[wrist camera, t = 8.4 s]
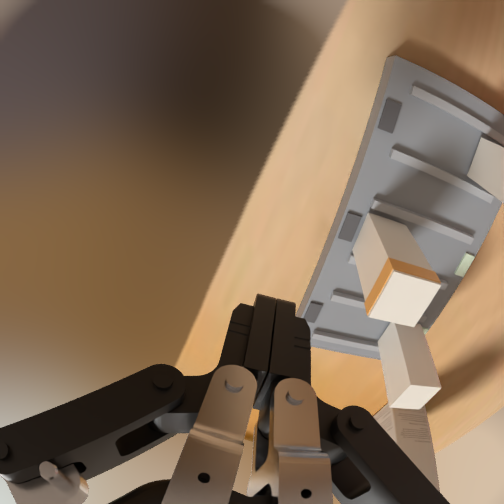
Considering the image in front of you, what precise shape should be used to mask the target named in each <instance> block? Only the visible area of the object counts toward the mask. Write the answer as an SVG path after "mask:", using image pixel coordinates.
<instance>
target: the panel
mask: <svg viewBox="0 0 504 504" xmlns="http://www.w3.org/2000/svg"><path fill="white" fill-rule="evenodd" d="M481 137H482V138H484V139H486V140H488V141H491V142H493V143H495V144H497V145H499V146H502V147H504V115H503V114H502V113H500V112H499V111H497V110H496V109H494V108H493V107H491V106H490V105H488V104H487V103H485V102H484V101H482V100H480V99H479V98H477V97H476V96H474V95H472V94H471V93H469V92H467V91H466V90H464V89H462V88H460V87H459V86H457V85H455V84H453V83H452V82H450V81H448V80H446V79H444V78H442V77H440V76H438V75H436V74H435V73H433V72H431V71H429V70H427V69H424V68H422V67H420V66H418V65H416V64H414V63H412V62H410V61H407V60H405V59H403V58H401V57H398V56H396V55H395V56H391V57H387V59H386V63H385V66H384V70H383V73H382V77H381V80H380V84H379V87H378V91H377V94H376V98H375V101H374V104H373V108H372V111H371V114H370V117H369V120H368V124H367V127H366V130H365V133H364V136H363V139H362V142H361V145H360V148H359V151H358V154H357V157H356V160H355V163H354V166H353V169H352V172H351V175H350V178H349V181H348V184H347V186H346V189H345V192H344V195H343V198H342V200H341V203H340V206H339V209H338V211H337V214H336V217H335V219H334V222H333V225H332V227H331V230H330V233H329V235H328V238H327V240H326V243H325V245H324V248H323V251H322V253H321V256H320V258H319V261H318V263H317V266H316V268H315V271H314V273H313V276H312V278H311V280H310V283H309V285H308V288H307V290H306V292H305V295H304V297H303V300H302V302H301V304H300V307H299V309H298V311H297V314H296V316H295V317H299V318H304V319H306V321H307V323H308V325H309V327H310V330H311V340H310V342H311V346H312V347H316V348H321V349H326V350H331V351H336V352H341V353H346V354H351V355H357V356H362V357H367V358H373V359H379V360H381V357H380V352H379V347H378V340H379V339H380V337H381V336H382V335H383V333H384V332H385V330H386V329H387V327H388V325H389V324H390V322H388V321H383V320H379V319H374V318H370V317H368V315H367V314H366V309H365V305H364V303H365V299H364V295H363V290H362V286H361V282H360V278H359V274H358V270H357V266H356V262H355V258H354V254H353V251H352V249H353V247H354V245H355V242H356V240H357V238H358V235H359V233H360V230H361V228H362V226H363V223H364V221H365V218H366V216H367V214H368V212H369V213H372V214H375V215H378V216H381V217H384V218H387V219H390V220H393V221H396V222H398V223H401V224H404V225H406V226H407V228H408V229H409V231H410V233H411V234H412V236H413V237H414V239H415V241H416V242H417V244H418V246H419V247H420V249H421V251H422V252H423V254H424V256H425V257H426V259H427V261H428V263H429V264H430V266H431V268H432V270H433V271H434V272H436V274H437V276H438V278H439V280H440V281H441V287H440V288H439V290H438V291H437V293H436V295H435V296H434V298H433V299H432V301H431V303H430V304H429V306H428V307H427V309H426V310H425V312H424V313H423V315H422V316H421V318H420V319H419V321H418V322H417V324H421V326H422V329H423V332H424V334H426V333H427V332H428V330H429V329H430V327H431V326H432V325H433V323H434V322H435V320H436V319H437V318H438V316H439V315H440V313H441V312H442V310H443V309H444V307H445V306H446V304H447V303H448V301H449V300H450V298H451V296H452V295H453V293H454V292H455V290H456V289H457V287H458V285H459V284H460V282H461V280H462V279H463V277H464V275H465V274H466V272H467V270H468V269H469V267H470V265H471V263H472V262H473V260H474V258H475V256H476V254H477V253H478V251H479V249H480V247H481V245H482V243H483V241H484V239H485V238H486V236H487V234H488V232H489V230H490V228H491V226H492V223H493V221H494V219H495V217H496V215H497V213H498V211H499V209H500V206H501V204H502V202H501V201H500V200H498V199H497V198H496V197H495V196H493V195H492V194H491V193H489V192H488V191H487V190H486V189H484V188H483V187H482V186H480V185H479V184H477V183H476V182H475V181H473V180H472V179H471V178H469V177H468V176H467V174H468V171H469V169H470V166H471V164H472V161H473V158H474V156H475V153H476V150H477V147H478V144H479V142H480V139H481Z"/></svg>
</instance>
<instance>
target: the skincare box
mask: <svg viewBox="0 0 504 504" xmlns="http://www.w3.org/2000/svg"><path fill="white" fill-rule="evenodd" d="M373 417H374V418H375V420H376V421H377V422H378V423H379V424H380V425H381V427H382V428H383V429H384V430H385V431H386V432H387V433H388V435H389V436H390V437H391V438H392V439H393V440H394V441H395V443H396V444H397V445H398V446H399V447H400V448H401V449H402V450H403V452H404V453H405V454H406V455H407V456H408V457H409V458H410V460H411V461H412V462H413V463H414V464H415V465H416V466H417V467H418V469H419V470H420V471H421V472H422V473H423V474H424V475H425V476H426V478H427V479H428V480H429V481H430V482H431V483H432V484H433V485H434V487H435V488H436V489H437V490H438V491H439V492H440V490H439V482H438V475H437V467H436V461H435V454H434V449H433V443H432V437H431V432H430V427H429V422H428V417H427V413H426V408H425V405H424V406H423V407H422V408H420V409H404V408H391V407H389V404H388V403H387V404H386V405H385V406H384V407H383V408H382V409H381V410H380V411H379V412H377V413H376V414H375V415H374V416H373Z"/></svg>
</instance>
